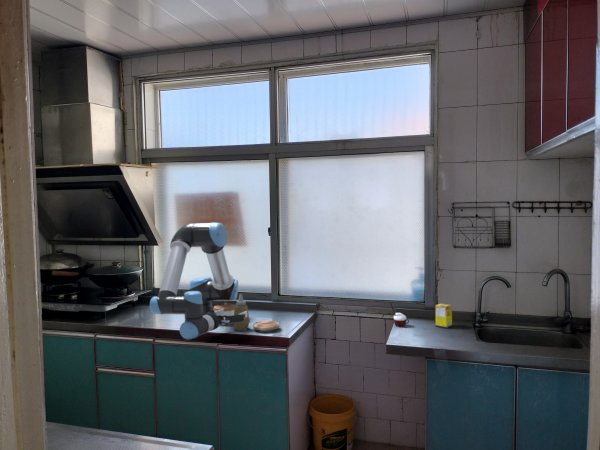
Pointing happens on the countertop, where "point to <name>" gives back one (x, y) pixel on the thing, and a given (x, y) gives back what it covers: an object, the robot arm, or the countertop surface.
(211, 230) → the robot arm
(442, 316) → the supplement box
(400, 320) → the cocoa
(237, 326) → the squeeze bottle
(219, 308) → the lidded bowl
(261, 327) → the tan round disc
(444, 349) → the countertop surface
